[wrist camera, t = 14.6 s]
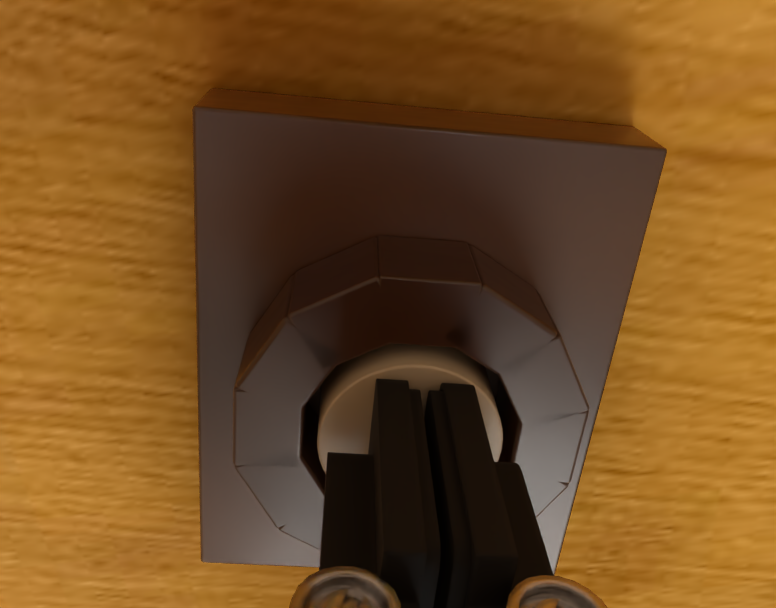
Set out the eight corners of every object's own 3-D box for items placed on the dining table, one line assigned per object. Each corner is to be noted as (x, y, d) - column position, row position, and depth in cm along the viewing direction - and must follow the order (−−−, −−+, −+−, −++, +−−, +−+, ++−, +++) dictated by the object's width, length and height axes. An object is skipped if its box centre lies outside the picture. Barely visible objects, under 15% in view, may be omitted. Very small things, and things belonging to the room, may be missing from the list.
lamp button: (326, 310, 13) (322, 359, 12) (500, 322, 14) (518, 371, 12) (317, 452, 15) (312, 513, 13) (474, 461, 15) (487, 522, 14)
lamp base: (210, 86, 14) (165, 131, 10) (635, 125, 14) (714, 179, 11) (214, 510, 18) (183, 631, 15) (538, 526, 18) (575, 647, 15)
